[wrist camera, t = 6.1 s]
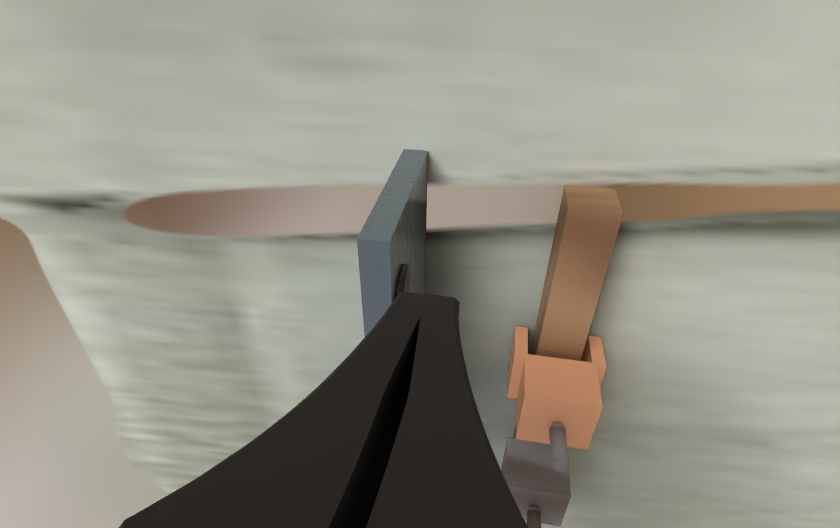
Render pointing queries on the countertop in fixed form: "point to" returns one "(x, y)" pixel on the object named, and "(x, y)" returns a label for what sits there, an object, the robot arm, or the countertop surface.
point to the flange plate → (395, 239)
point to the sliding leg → (556, 396)
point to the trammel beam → (564, 335)
